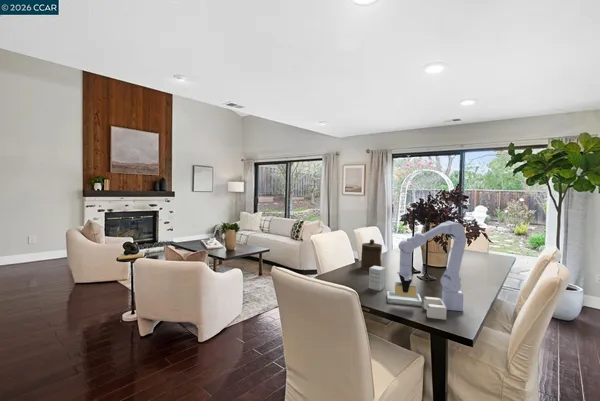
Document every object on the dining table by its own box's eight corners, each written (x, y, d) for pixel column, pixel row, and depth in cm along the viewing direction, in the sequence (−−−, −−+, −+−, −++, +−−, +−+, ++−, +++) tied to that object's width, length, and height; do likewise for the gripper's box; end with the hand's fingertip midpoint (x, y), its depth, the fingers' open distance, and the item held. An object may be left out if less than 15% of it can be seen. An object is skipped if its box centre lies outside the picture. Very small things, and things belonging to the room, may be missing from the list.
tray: (418, 298, 167) (419, 293, 167) (422, 306, 155) (422, 301, 155) (386, 294, 171) (387, 290, 171) (387, 302, 159) (387, 298, 159)
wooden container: (385, 269, 224) (386, 240, 223) (370, 272, 217) (371, 241, 216) (371, 265, 237) (372, 237, 236) (356, 267, 230) (357, 238, 229)
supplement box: (373, 285, 188) (374, 265, 187) (385, 288, 183) (385, 267, 182) (368, 288, 182) (369, 267, 181) (380, 291, 177) (380, 269, 177)
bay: (440, 308, 152) (440, 298, 152) (446, 319, 140) (446, 308, 140) (423, 307, 154) (423, 296, 154) (427, 317, 142) (428, 306, 141)
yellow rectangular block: (415, 293, 155) (415, 283, 155) (416, 297, 150) (416, 286, 150) (394, 291, 158) (395, 281, 158) (395, 294, 153) (395, 284, 153)
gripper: (396, 260, 162) (395, 285, 162) (398, 267, 148) (397, 294, 148) (410, 261, 160) (409, 286, 161) (413, 268, 146) (412, 295, 146)
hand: (404, 290), depth 154 cm, fingers closed on yellow rectangular block, 5 cm apart
